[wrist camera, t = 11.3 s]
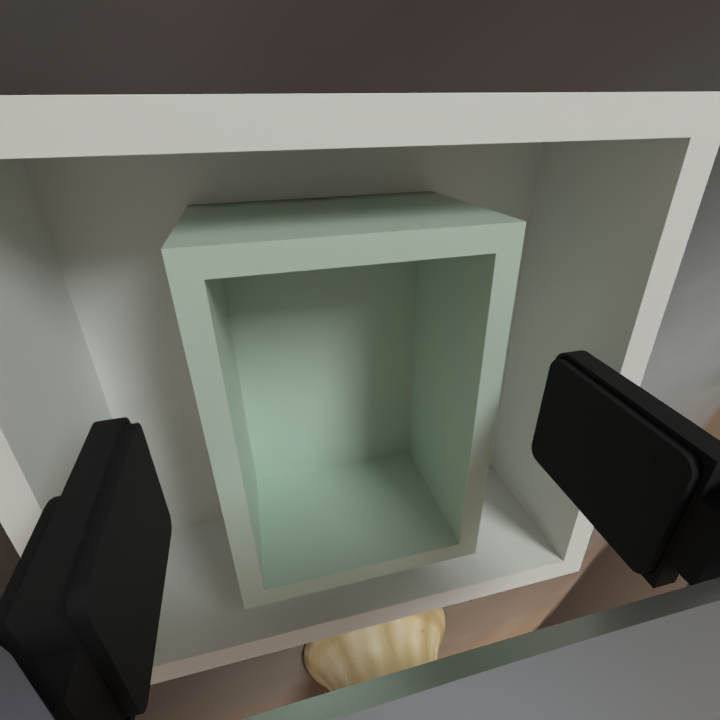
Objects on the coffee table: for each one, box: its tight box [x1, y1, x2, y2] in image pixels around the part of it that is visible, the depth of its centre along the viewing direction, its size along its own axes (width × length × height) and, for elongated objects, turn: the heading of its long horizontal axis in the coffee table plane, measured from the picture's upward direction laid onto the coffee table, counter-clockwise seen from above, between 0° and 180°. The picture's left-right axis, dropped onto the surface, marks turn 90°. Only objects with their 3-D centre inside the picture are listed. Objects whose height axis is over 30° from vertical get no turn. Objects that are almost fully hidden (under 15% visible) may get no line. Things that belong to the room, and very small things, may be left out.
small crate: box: [161, 191, 526, 609], centre depth 13 cm, size 10×7×5 cm
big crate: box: [0, 92, 720, 685], centre depth 13 cm, size 15×16×6 cm
